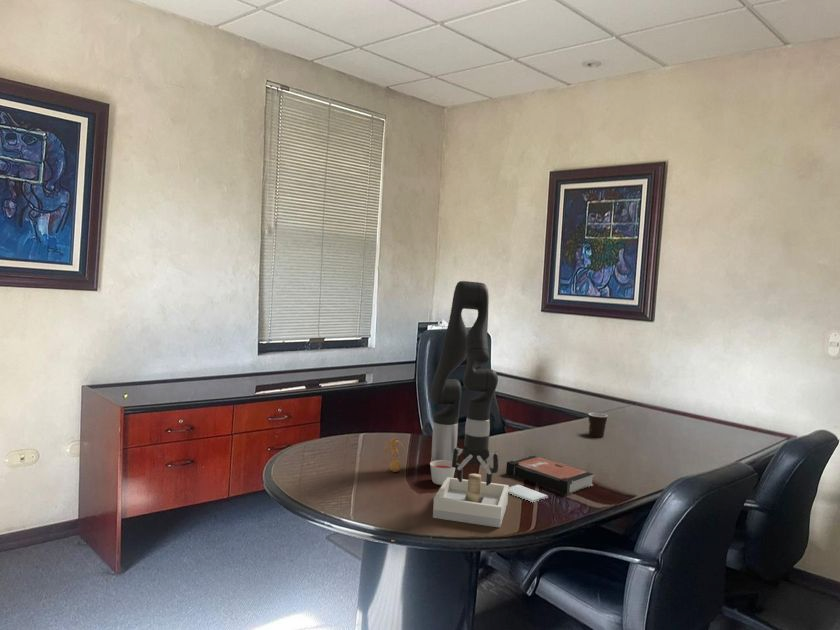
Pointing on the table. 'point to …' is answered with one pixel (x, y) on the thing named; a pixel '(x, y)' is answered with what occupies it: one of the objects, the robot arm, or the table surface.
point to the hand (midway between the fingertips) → (473, 482)
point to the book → (550, 474)
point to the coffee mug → (597, 424)
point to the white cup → (441, 471)
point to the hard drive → (526, 493)
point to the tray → (471, 503)
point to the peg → (474, 488)
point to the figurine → (394, 465)
